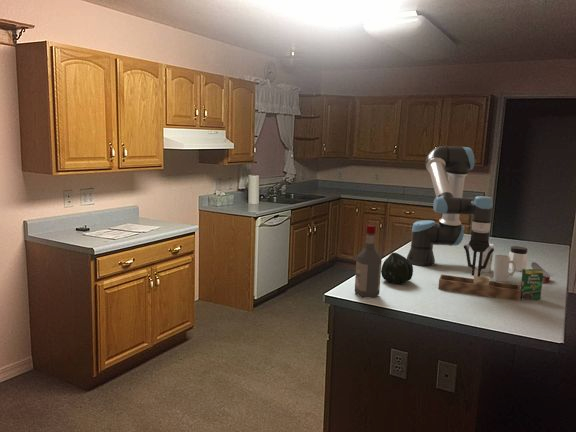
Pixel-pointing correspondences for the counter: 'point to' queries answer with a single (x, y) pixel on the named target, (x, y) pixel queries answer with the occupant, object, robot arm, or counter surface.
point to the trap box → (480, 287)
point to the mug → (502, 267)
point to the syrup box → (488, 267)
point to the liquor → (368, 267)
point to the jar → (518, 257)
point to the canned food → (545, 274)
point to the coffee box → (531, 284)
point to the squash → (397, 269)
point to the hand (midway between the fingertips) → (475, 282)
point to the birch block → (483, 280)
